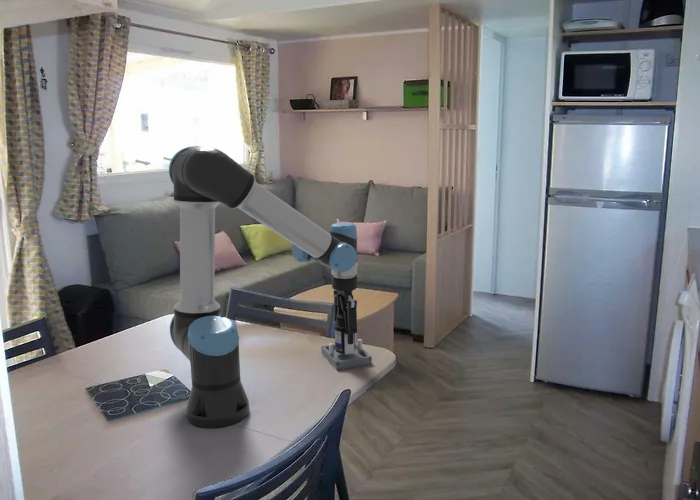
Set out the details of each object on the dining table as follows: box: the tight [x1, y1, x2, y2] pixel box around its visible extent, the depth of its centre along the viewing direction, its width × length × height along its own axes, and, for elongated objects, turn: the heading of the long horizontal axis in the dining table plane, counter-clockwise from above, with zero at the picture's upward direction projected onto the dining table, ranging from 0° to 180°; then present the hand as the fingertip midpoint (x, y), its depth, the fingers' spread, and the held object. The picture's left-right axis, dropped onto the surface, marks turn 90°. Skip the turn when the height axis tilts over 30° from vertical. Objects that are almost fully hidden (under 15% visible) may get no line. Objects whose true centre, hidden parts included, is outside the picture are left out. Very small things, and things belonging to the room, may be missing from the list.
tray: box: [320, 338, 373, 370], centre depth 181 cm, size 14×11×5 cm
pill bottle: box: [334, 313, 356, 353], centre depth 180 cm, size 6×6×11 cm
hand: (345, 349), depth 181 cm, fingers closed on pill bottle, 6 cm apart
